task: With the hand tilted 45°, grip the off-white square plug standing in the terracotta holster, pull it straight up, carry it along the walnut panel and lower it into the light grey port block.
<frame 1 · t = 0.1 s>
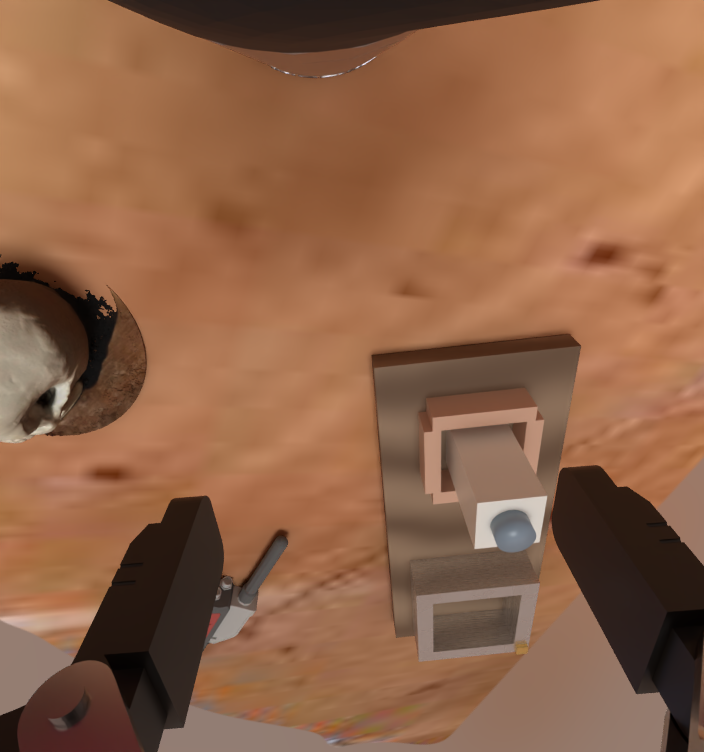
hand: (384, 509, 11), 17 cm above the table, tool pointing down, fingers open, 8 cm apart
walkie-talkie: (202, 585, 40), on the table
port: (465, 589, 39), resting on panel
panel: (463, 507, 36), on the table
holster: (473, 437, 30), resting on panel
skull: (41, 342, 28), on the table
plug: (473, 437, 30), point 1 cm above the table, touching panel
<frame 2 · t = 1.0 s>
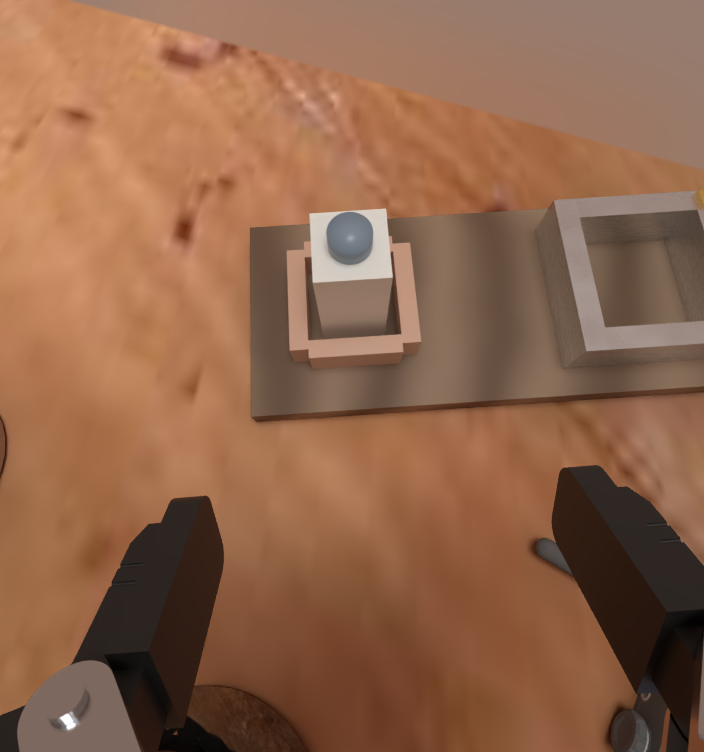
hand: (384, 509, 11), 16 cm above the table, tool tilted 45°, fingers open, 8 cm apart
walkie-talkie: (681, 708, 24), on the table
port: (622, 291, 28), resting on panel
panel: (481, 311, 29), on the table
holster: (352, 309, 28), resting on panel
plug: (352, 309, 28), point 1 cm above the table, touching panel
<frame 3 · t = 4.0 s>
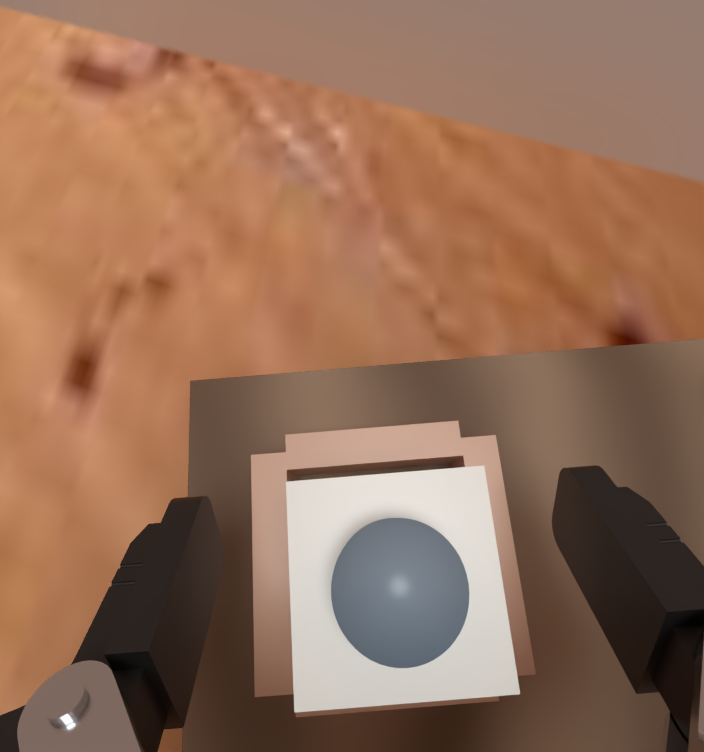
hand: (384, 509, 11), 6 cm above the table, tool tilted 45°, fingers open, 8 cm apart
panel: (615, 529, 16), on the table
holster: (380, 551, 14), resting on panel
plug: (380, 551, 14), point 1 cm above the table, touching panel
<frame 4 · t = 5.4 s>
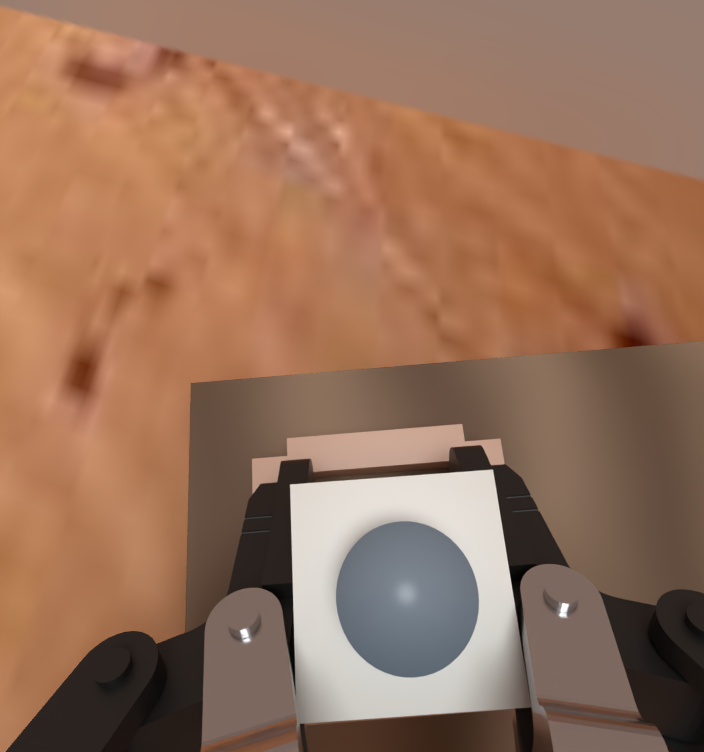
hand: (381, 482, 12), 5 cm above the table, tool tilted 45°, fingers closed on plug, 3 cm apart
panel: (621, 533, 16), on the table
holster: (383, 556, 14), resting on panel
plug: (384, 561, 14), point 2 cm above the table, touching gripper
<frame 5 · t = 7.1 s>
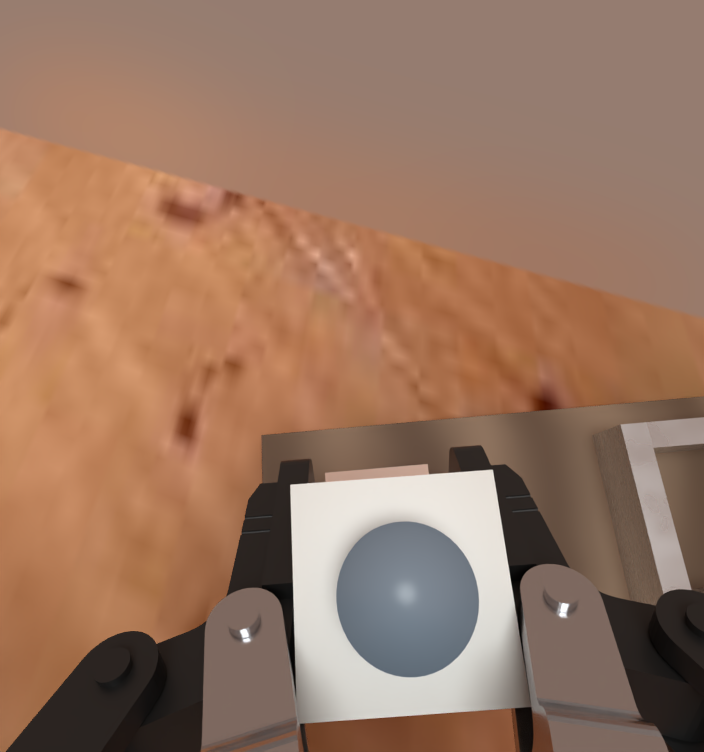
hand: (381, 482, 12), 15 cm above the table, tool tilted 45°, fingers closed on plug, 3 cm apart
port: (702, 515, 24), resting on panel
panel: (531, 528, 25), on the table
holster: (382, 542, 24), resting on panel
plug: (384, 561, 14), point 11 cm above the table, touching gripper
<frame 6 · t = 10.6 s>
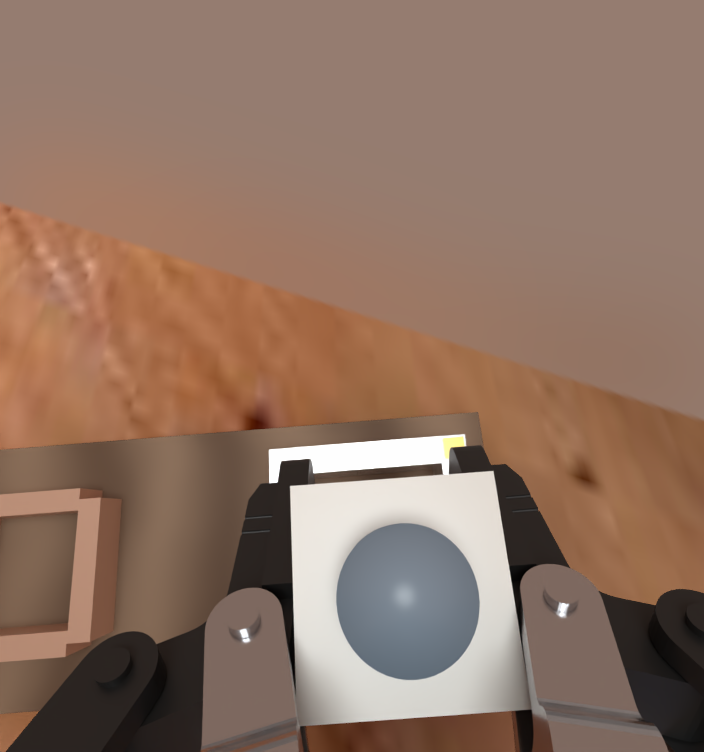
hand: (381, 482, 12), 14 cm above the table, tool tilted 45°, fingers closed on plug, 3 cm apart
port: (374, 542, 23), resting on panel
panel: (219, 553, 24), on the table
holster: (45, 568, 23), resting on panel
plug: (384, 562, 14), point 11 cm above the table, touching gripper
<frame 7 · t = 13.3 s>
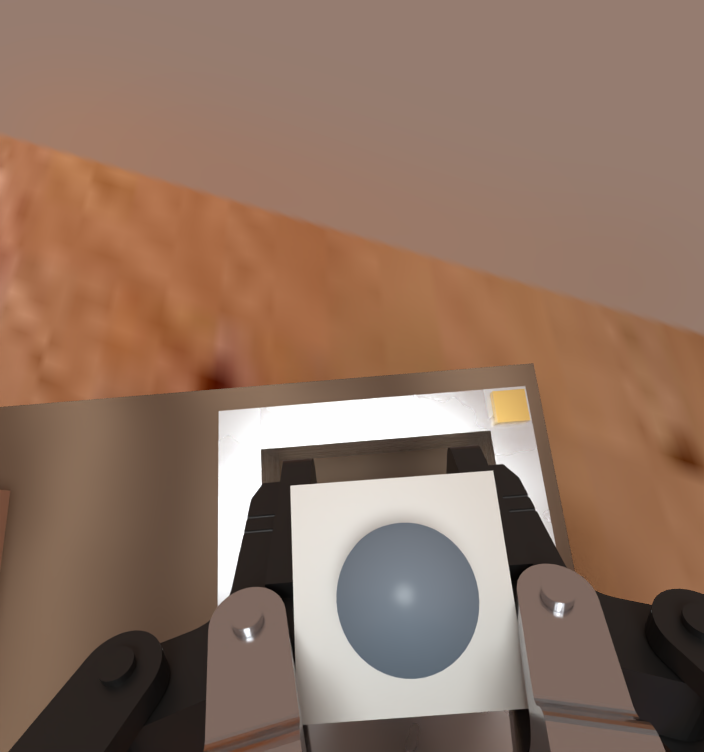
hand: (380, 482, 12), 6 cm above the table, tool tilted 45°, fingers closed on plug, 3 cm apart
port: (382, 554, 15), resting on panel
panel: (156, 569, 17), on the table
plug: (384, 561, 14), point 3 cm above the table, touching gripper
when the fingers open (6 cm above the table, at t = 13.3 s): plug drops 1 cm, resting on panel.
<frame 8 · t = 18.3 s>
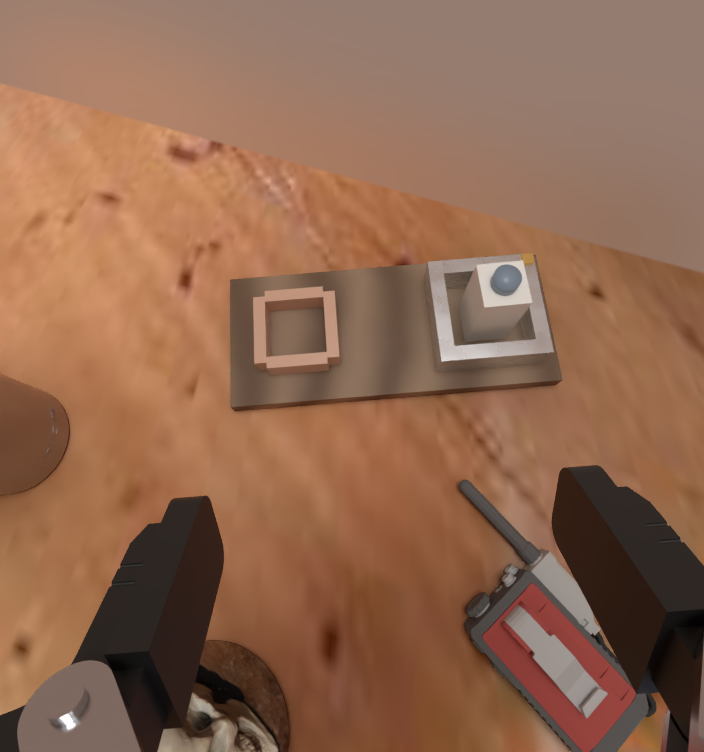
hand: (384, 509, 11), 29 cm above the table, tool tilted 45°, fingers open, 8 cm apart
walkie-talkie: (520, 609, 37), on the table
port: (480, 320, 41), resting on panel
panel: (388, 334, 43), on the table
holster: (298, 335, 41), resting on panel
skull: (209, 730, 35), on the table
plug: (481, 321, 41), point 1 cm above the table, touching panel
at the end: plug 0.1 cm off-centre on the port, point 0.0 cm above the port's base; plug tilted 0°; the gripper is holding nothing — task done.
